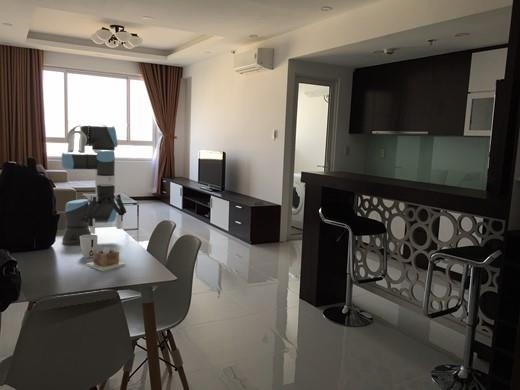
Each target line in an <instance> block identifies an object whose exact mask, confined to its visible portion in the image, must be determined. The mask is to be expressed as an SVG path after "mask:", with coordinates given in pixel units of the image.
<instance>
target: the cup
mask: <svg viewBox="0 0 520 390" xmlns="http://www.w3.org/2000/svg"><path fill="white" fill-rule="evenodd" d="M79 246H80V250H81V253H82V257H83V258H93V252H97V248H98V235H97V234H91V235H82V236H80V245H79Z"/></svg>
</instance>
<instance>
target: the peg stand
mask: <svg viewBox="0 0 520 390" xmlns="http://www.w3.org/2000/svg"><path fill="white" fill-rule="evenodd" d="M109 249H110V246H109V247H108V246H107V247H106V246H104V247H102V250H103V254H108V253H109ZM86 266H88V267H90V268H93V269H95V270H98V271H101V272H105V271H108V270H112V269H117V268H120V267H121V268H122V267H125V266H126V262H123V261H120V260H119V263H116V264H112V265H108V266H101V265H98V264H95V263H93V261H91V262H88V263H86Z"/></svg>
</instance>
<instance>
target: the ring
mask: <svg viewBox="0 0 520 390" xmlns="http://www.w3.org/2000/svg"><path fill="white" fill-rule="evenodd" d="M92 258H93V259H92V260H93V261H92V262H93V263H95V264H98V265H101V266H108V265H112V264H116V263H119V261H120V251H117V250H114V249H110V248H109V253H108V254H103V249H102V250H98V251H97V250H96V252H93V257H92Z"/></svg>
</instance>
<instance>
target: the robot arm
mask: <svg viewBox="0 0 520 390" xmlns="http://www.w3.org/2000/svg"><path fill="white" fill-rule="evenodd" d="M117 137H118V136H117V132H116V128H115V126H113V125H109V124H108V125H107V124H91V123H90V124H88V123H84V124H79V125H77V126H74V127H73V128H72V129H70V130H69V132H68V133H67V135H66V140H67V144H68V146H67V152H62V154H61V167H62V169H64V170H95V173H94V174H95V196H93V195H92V196H90V200H89V199H87V198H83V199H75V200H71V201H68V202H66V204H65V209H64V213H65V229H64V233H63V236H62V239H61V241H62V244H64V245H66V246H69V245H70V246H80V236H82V235H96V223H97V224H99V223H105V224H107V223H113V222H115V220H116V224H115V225H116V229H118V230H121V229H122V222H123V219H124V218H123V217H124V215H125V214H127V210H126V208H125V205H124V203H123V201H122V198H121V194H120V193H119V194H118V193H116V191H115V190H116V187H115V185H114V184H115V183H116V181H115V177H116V176H115V170H116V169H115V165H116V164H115V163H116V162H115V159H116V156H115V155H116V154H115V151H116V150H115V148H117V147H118V138H117ZM88 146H89V147H91V148H92V149H91V150H92V152H85V150H86V147H88ZM93 152H94V153H93Z"/></svg>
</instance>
